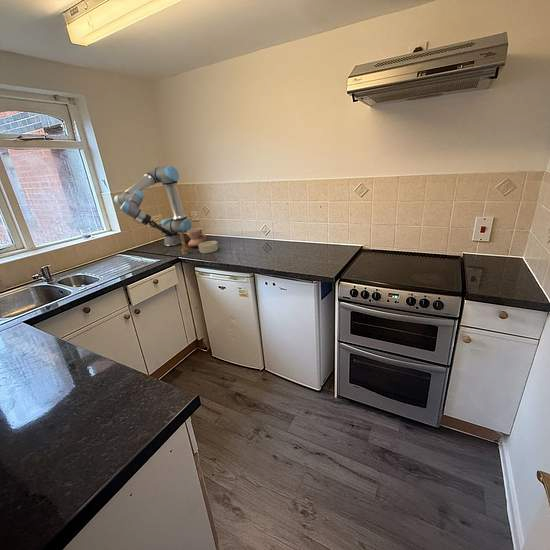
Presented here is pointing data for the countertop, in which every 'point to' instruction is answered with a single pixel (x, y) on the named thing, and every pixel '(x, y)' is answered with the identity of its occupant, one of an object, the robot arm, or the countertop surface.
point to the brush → (183, 245)
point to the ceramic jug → (196, 237)
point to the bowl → (208, 247)
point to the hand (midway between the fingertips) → (170, 234)
